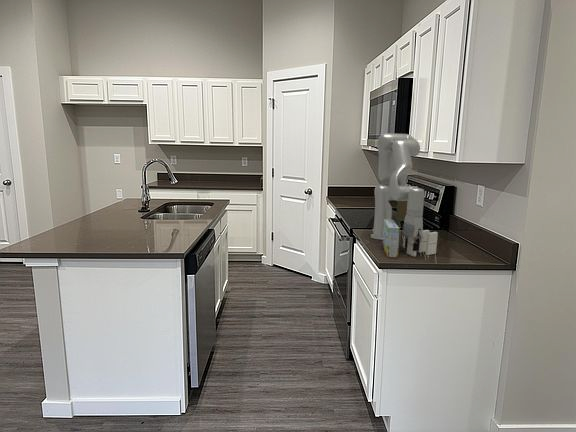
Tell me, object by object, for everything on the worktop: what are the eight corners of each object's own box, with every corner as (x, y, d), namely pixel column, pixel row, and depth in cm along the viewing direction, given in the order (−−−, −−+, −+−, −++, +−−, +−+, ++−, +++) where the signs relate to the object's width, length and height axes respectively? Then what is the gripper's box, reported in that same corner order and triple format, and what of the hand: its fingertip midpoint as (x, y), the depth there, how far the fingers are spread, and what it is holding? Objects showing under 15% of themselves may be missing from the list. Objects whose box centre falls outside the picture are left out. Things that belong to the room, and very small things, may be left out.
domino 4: (425, 254, 202) (427, 233, 200) (433, 252, 205) (435, 231, 203) (427, 255, 201) (429, 233, 199) (435, 253, 204) (437, 232, 202)
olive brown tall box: (408, 221, 287) (410, 193, 283) (394, 219, 292) (396, 192, 288) (412, 219, 296) (414, 192, 292) (398, 217, 301) (400, 191, 297)
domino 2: (413, 256, 198) (415, 234, 196) (406, 253, 203) (408, 232, 201) (416, 256, 198) (417, 234, 196) (408, 253, 204) (410, 231, 202)
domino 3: (417, 251, 207) (419, 230, 205) (425, 250, 210) (427, 229, 208) (419, 252, 206) (421, 231, 204) (427, 251, 208) (429, 230, 206)
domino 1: (402, 247, 215) (404, 227, 213) (410, 245, 218) (412, 226, 216) (404, 247, 214) (406, 227, 212) (412, 246, 217) (414, 226, 215)
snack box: (381, 246, 216) (383, 218, 213) (391, 247, 215) (393, 219, 213) (386, 257, 195) (388, 227, 192) (398, 258, 195) (400, 227, 192)
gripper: (398, 210, 204) (395, 245, 207) (418, 216, 188) (415, 254, 191) (410, 210, 206) (408, 244, 210) (432, 216, 190) (429, 253, 193)
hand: (411, 248), depth 200 cm, fingers closed on domino 2, 6 cm apart
